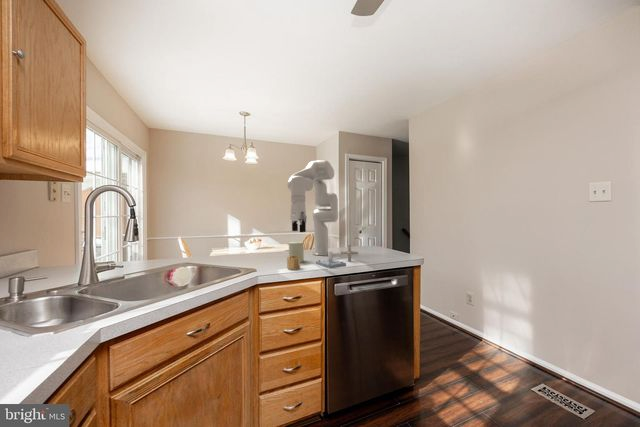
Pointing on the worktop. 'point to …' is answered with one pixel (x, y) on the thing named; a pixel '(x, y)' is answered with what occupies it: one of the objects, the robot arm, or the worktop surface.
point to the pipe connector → (349, 252)
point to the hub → (293, 262)
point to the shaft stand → (330, 262)
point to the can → (296, 249)
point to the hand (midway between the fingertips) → (298, 231)
